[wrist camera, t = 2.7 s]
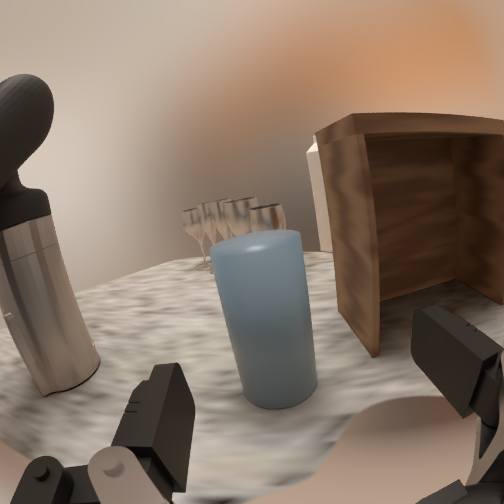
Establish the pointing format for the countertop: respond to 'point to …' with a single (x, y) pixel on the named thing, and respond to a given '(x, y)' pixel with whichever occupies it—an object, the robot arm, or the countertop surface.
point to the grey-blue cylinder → (267, 315)
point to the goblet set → (231, 220)
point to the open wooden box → (412, 208)
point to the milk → (319, 197)
